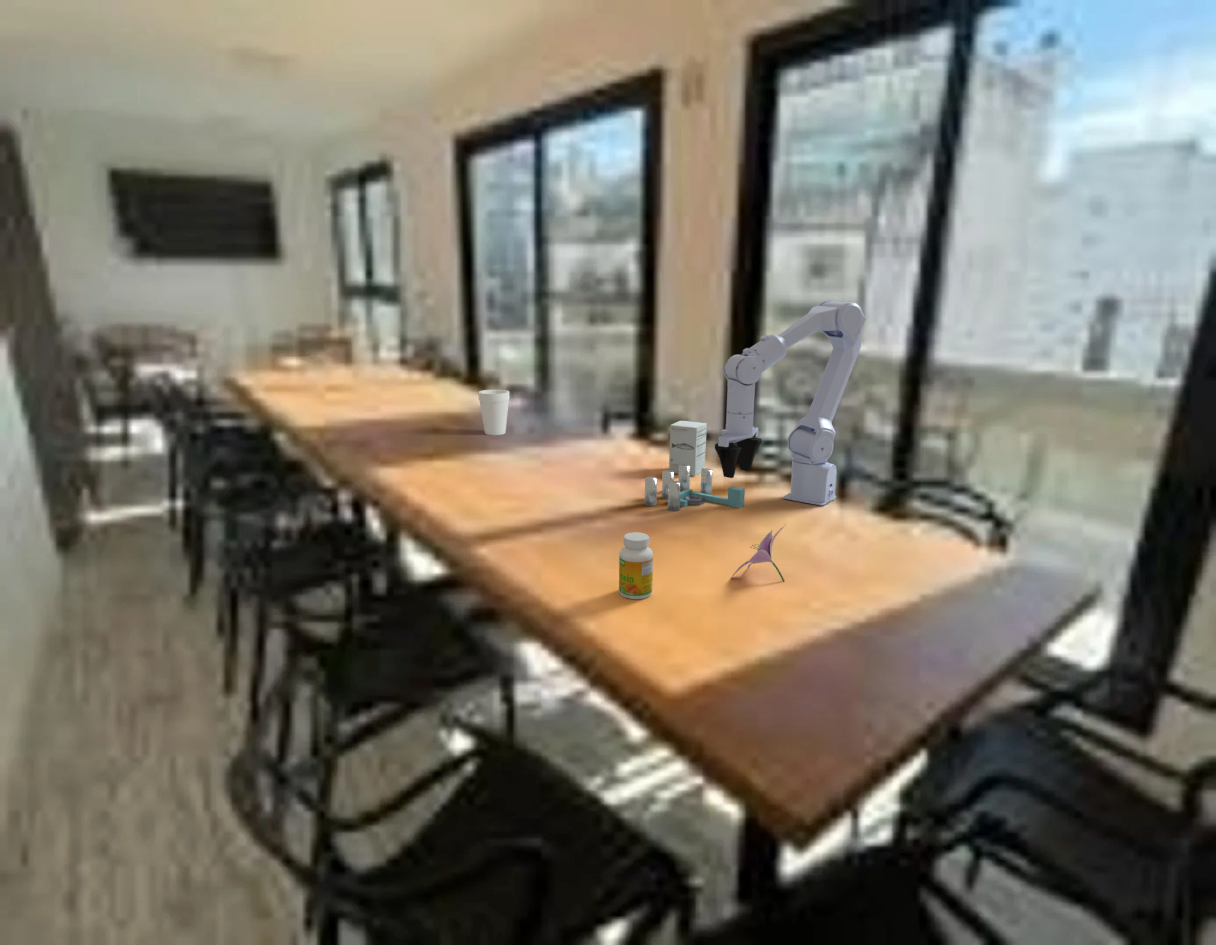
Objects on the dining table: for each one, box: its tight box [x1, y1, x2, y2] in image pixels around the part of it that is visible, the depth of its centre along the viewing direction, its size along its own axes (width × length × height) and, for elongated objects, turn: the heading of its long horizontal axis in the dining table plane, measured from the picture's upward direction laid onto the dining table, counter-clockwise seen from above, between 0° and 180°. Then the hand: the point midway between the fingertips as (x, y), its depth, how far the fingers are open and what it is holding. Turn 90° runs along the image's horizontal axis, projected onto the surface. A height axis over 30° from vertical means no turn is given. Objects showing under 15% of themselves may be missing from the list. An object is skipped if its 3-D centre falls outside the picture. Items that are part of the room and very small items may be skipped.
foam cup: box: [478, 388, 511, 436], centre depth 249 cm, size 10×9×13 cm
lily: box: [729, 524, 786, 583], centre depth 135 cm, size 12×12×10 cm
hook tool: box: [680, 486, 746, 509], centre depth 176 cm, size 14×9×4 cm, turn 53°
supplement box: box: [668, 420, 708, 477], centre depth 203 cm, size 7×7×13 cm
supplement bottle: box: [618, 532, 654, 600], centre depth 128 cm, size 5×5×10 cm
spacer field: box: [644, 464, 714, 512], centre depth 180 cm, size 9×17×6 cm, turn 143°
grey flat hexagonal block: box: [684, 495, 706, 507], centre depth 178 cm, size 4×5×1 cm
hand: (737, 473), depth 174 cm, fingers open, 7 cm apart
